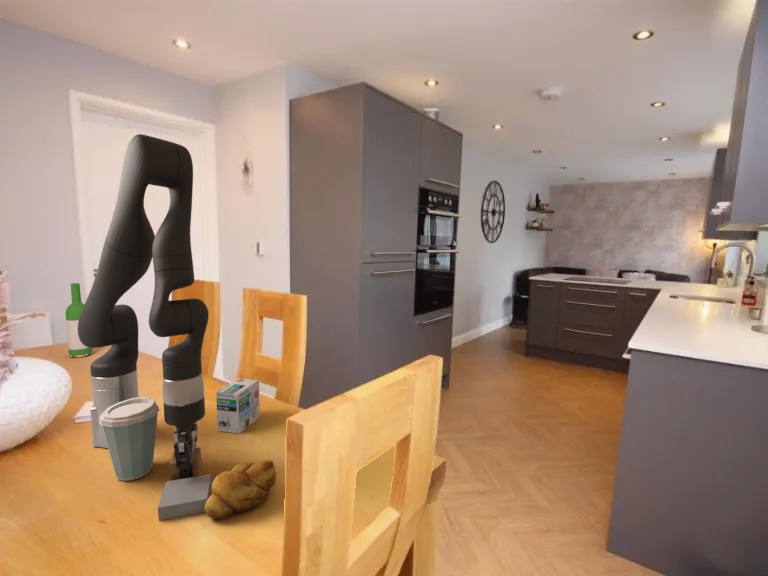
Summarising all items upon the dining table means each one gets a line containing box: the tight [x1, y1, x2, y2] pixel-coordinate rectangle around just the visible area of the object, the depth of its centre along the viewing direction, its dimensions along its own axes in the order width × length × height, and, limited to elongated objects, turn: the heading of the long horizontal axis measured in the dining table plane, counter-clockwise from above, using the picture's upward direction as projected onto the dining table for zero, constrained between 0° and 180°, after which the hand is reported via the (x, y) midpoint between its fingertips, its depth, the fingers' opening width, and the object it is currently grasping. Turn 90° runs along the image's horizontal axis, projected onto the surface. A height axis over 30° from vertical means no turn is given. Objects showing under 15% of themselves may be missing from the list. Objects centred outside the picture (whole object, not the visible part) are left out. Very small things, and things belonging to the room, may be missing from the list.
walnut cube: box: [169, 446, 202, 481], centre depth 83 cm, size 5×5×5 cm
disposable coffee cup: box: [99, 396, 160, 482], centre depth 84 cm, size 11×11×15 cm
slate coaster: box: [157, 474, 212, 521], centre depth 76 cm, size 8×8×2 cm
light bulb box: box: [215, 378, 261, 434], centre depth 107 cm, size 11×7×11 cm, turn 168°
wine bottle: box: [65, 282, 93, 356], centre depth 163 cm, size 8×8×30 cm
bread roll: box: [204, 460, 277, 520], centre depth 75 cm, size 13×10×8 cm
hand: (188, 474), depth 84 cm, fingers closed on walnut cube, 5 cm apart
